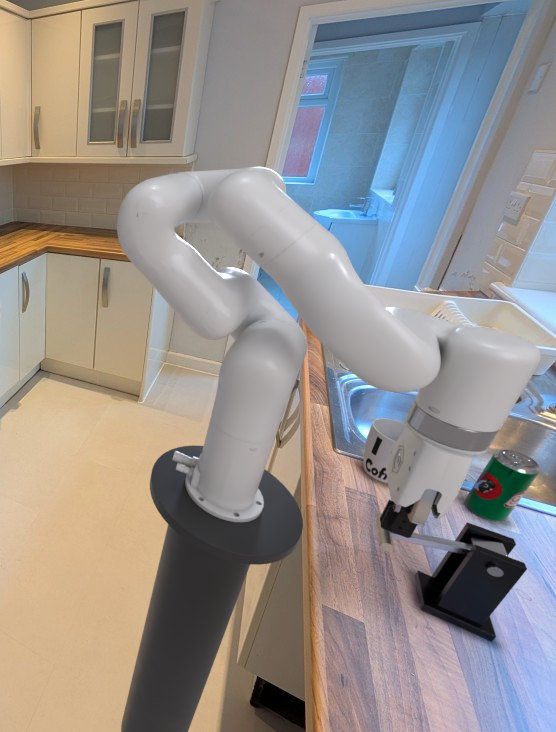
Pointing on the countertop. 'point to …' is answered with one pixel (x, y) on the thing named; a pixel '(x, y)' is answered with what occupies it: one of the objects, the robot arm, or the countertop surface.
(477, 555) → the bracket
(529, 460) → the soda can
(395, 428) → the cup
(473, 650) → the countertop surface
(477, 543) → the tap lever
